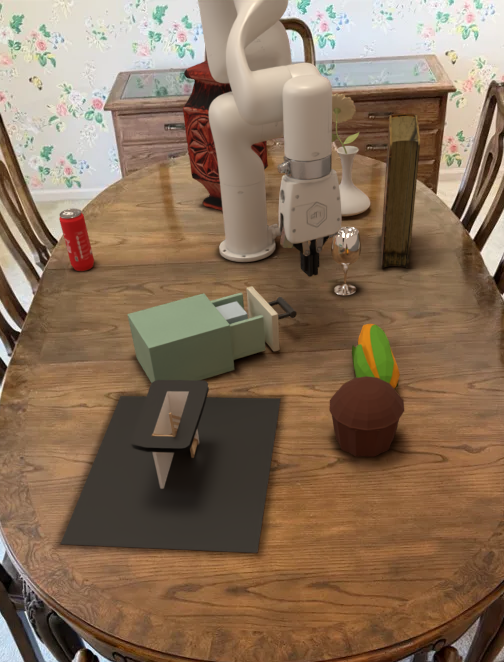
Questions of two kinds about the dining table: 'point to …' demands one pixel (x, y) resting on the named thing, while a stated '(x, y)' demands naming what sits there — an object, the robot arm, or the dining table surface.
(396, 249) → the book
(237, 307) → the carton
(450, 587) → the dining table surface
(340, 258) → the wineglass
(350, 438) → the muffin
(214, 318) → the cabinet
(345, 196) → the flower in vase
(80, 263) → the beverage can
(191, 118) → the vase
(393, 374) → the corn
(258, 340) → the drawer
